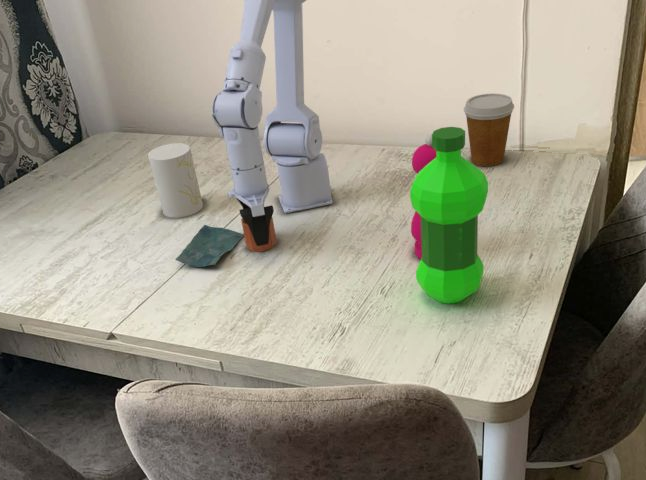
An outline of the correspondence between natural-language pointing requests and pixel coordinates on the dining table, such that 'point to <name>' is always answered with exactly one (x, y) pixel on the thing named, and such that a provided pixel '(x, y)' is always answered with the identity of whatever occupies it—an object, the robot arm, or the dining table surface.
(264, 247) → the faceted terracotta tumbler
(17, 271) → the dining table surface
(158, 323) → the dining table surface
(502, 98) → the disposable coffee cup
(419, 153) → the pepper mill
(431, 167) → the plastic bottle
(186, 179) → the white cylinder
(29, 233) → the dining table surface
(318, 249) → the dining table surface
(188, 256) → the terrain model
